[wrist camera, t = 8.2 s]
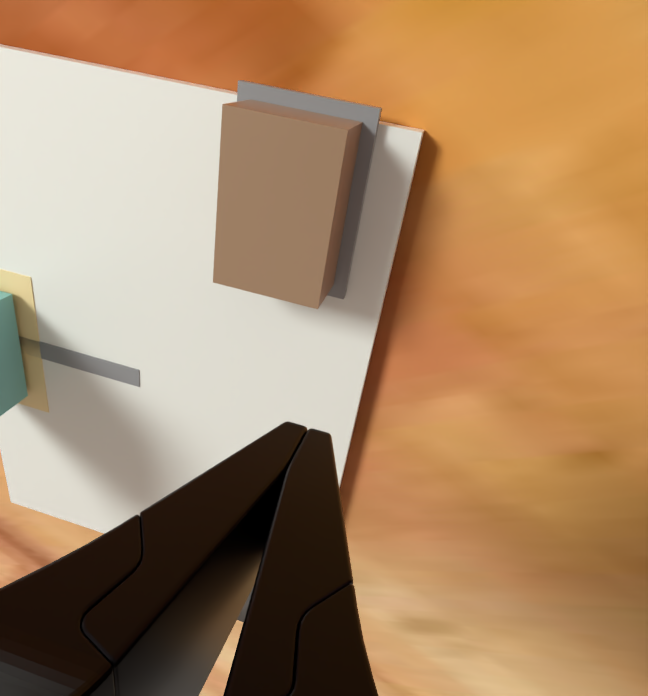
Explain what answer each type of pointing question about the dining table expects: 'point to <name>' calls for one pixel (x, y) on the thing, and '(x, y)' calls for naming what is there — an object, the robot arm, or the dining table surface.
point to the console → (183, 274)
